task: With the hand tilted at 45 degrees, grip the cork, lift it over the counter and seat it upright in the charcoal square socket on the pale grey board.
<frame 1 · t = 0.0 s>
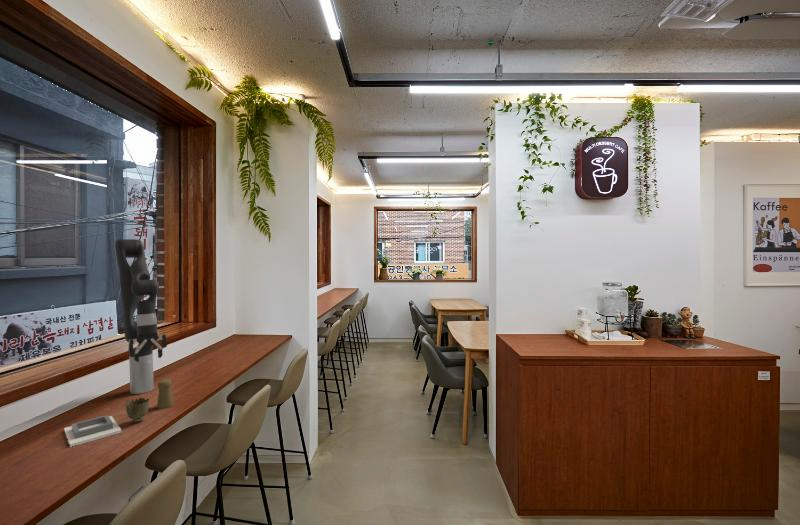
hand: (148, 359, 170), 17 cm above the table, tool pointing down, fingers open, 8 cm apart
socket board: (92, 431, 137), on the table
cup: (138, 421, 145), on the table
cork: (165, 406, 160), on the table
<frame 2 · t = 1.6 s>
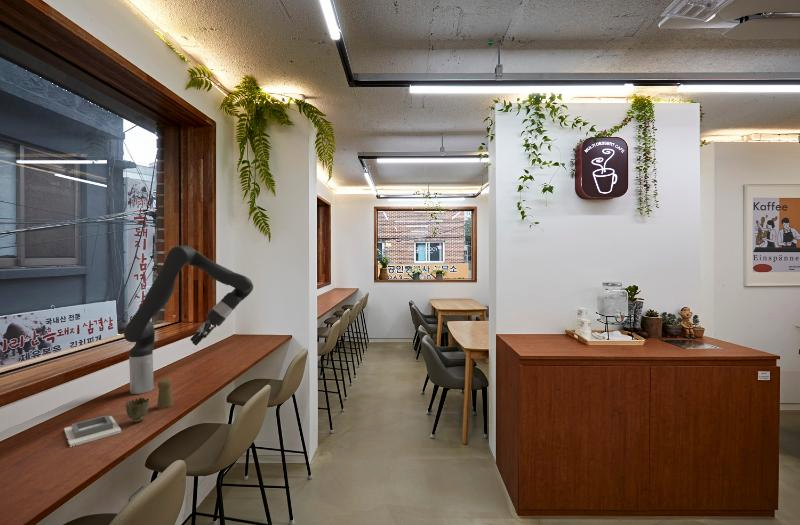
hand: (192, 342, 166), 25 cm above the table, tool tilted 45°, fingers open, 8 cm apart
nothing on the table moved.
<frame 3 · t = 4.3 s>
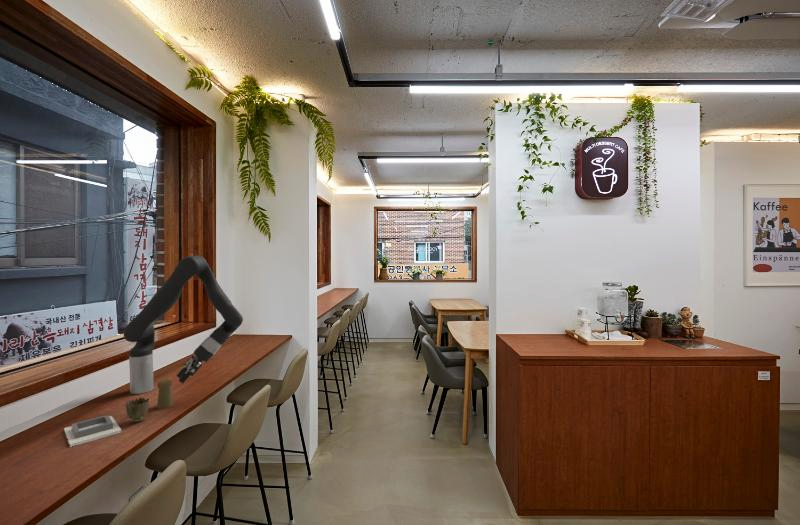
hand: (179, 379, 163), 10 cm above the table, tool tilted 45°, fingers open, 8 cm apart
nothing on the table moved.
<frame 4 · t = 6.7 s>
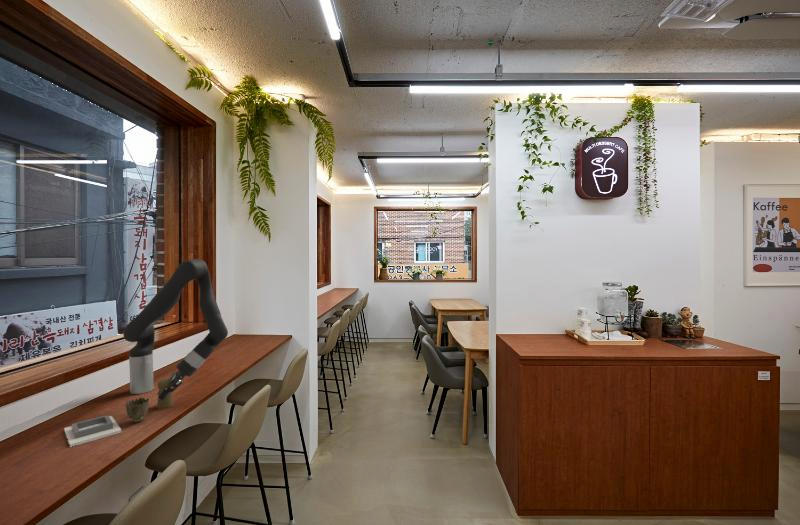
hand: (159, 396, 158), 4 cm above the table, tool tilted 45°, fingers closed on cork, 4 cm apart
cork: (165, 406, 160), on the table, touching gripper
everything else where it was.
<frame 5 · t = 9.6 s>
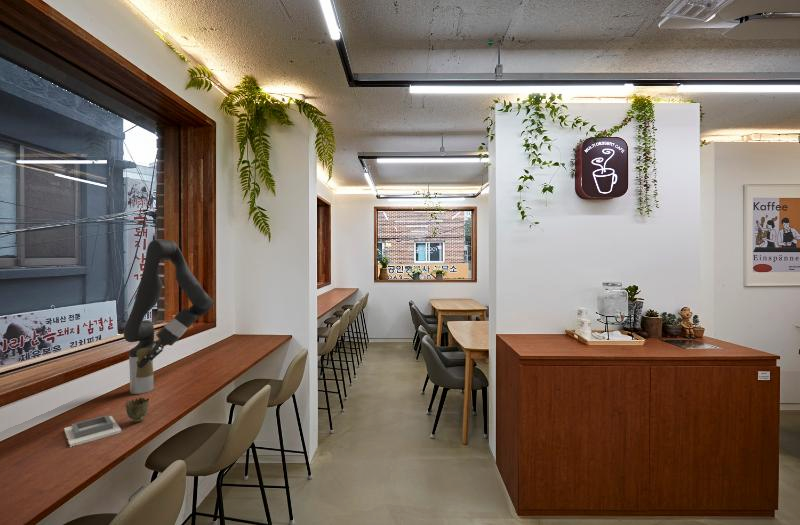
hand: (138, 365, 151), 20 cm above the table, tool tilted 45°, fingers closed on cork, 4 cm apart
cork: (145, 375, 152), point 15 cm above the table, touching gripper
everything else where it was.
when the fingers open (7 cm above the table, at t = 12.9 s): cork drops 1 cm, resting on socket board.
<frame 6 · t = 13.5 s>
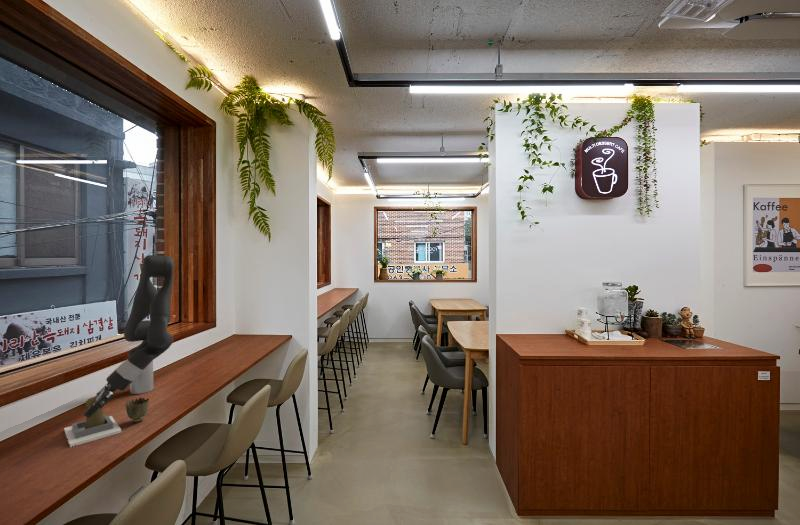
hand: (87, 412, 136), 7 cm above the table, tool tilted 45°, fingers open, 8 cm apart
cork: (95, 428, 138), point 1 cm above the table, touching socket board
everything else where it was.
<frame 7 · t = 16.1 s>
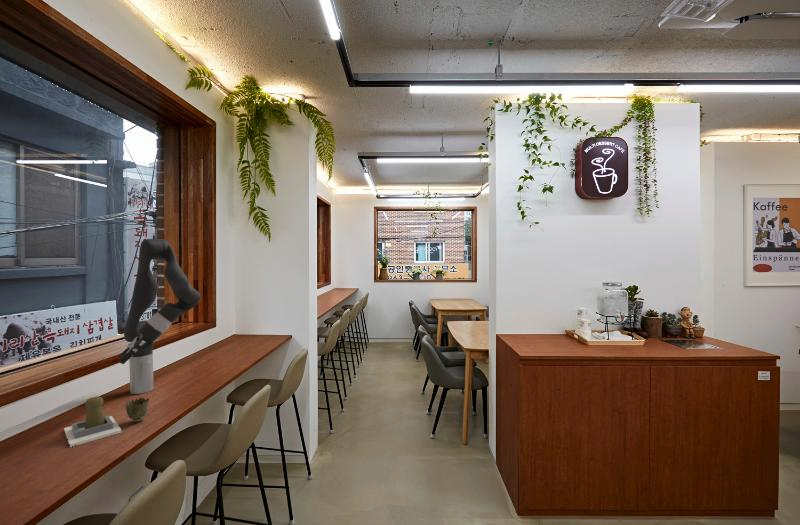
hand: (120, 360, 143), 24 cm above the table, tool tilted 45°, fingers open, 8 cm apart
nothing on the table moved.
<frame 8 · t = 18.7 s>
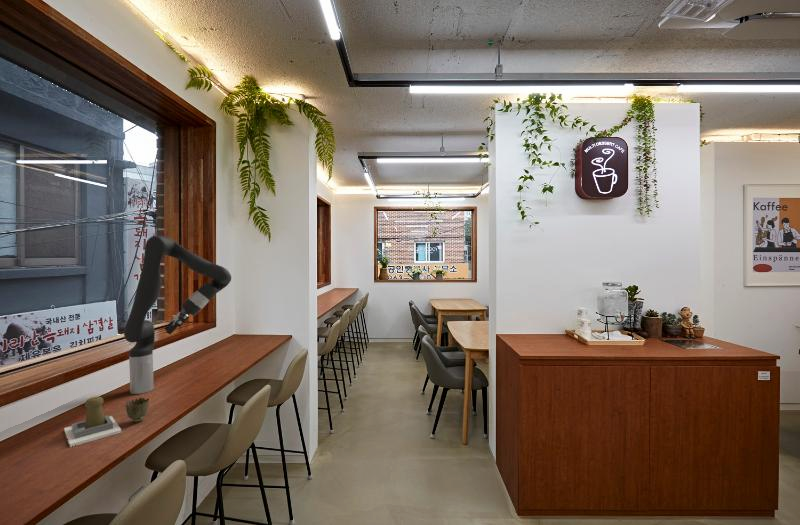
hand: (166, 331, 165), 31 cm above the table, tool tilted 45°, fingers open, 8 cm apart
nothing on the table moved.
at the end: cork 1.1 cm off-centre on the socket board, point 0.8 cm above the socket board's base; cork tilted 0°; the gripper is holding nothing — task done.
